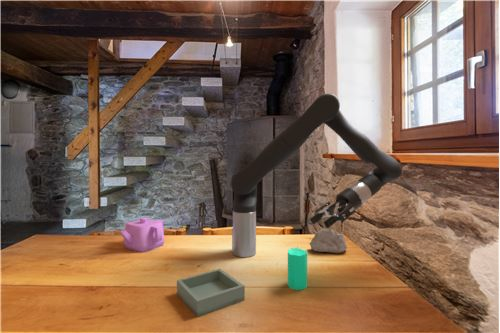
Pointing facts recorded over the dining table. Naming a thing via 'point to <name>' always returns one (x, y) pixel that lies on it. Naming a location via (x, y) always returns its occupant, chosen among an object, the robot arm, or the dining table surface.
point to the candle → (297, 268)
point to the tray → (210, 291)
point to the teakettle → (143, 234)
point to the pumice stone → (328, 241)
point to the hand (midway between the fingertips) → (317, 223)
